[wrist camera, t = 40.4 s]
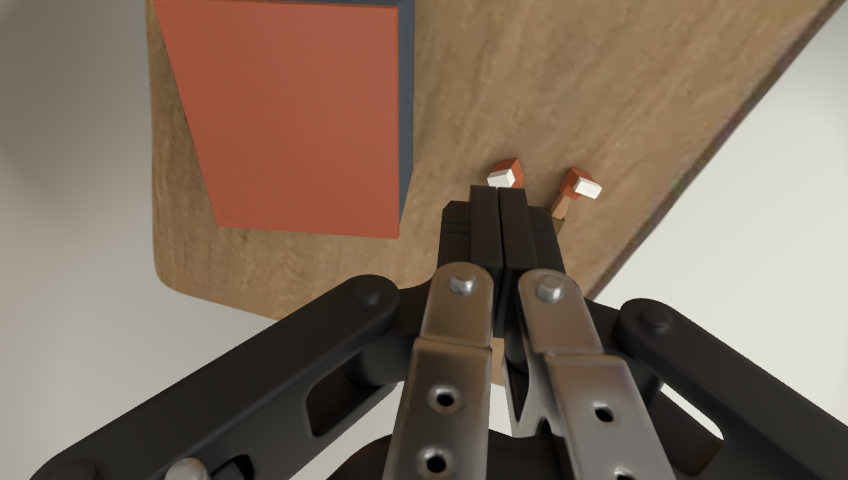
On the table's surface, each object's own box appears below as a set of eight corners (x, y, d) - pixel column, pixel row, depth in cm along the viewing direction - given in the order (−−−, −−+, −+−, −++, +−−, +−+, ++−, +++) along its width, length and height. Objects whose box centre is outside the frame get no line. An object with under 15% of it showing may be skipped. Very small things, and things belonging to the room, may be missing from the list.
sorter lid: (399, 233, 34) (398, 239, 33) (221, 220, 34) (216, 226, 34) (398, 5, 25) (396, 8, 24) (158, -5, 26) (150, -3, 25)
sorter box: (412, 170, 41) (399, 225, 33) (264, 161, 41) (220, 212, 34) (414, -16, 32) (398, 5, 25) (227, -23, 33) (159, -6, 26)
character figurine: (637, 202, 37) (535, 354, 45) (617, 179, 41) (527, 322, 50) (502, 151, 35) (423, 318, 44) (496, 133, 40) (425, 288, 48)
